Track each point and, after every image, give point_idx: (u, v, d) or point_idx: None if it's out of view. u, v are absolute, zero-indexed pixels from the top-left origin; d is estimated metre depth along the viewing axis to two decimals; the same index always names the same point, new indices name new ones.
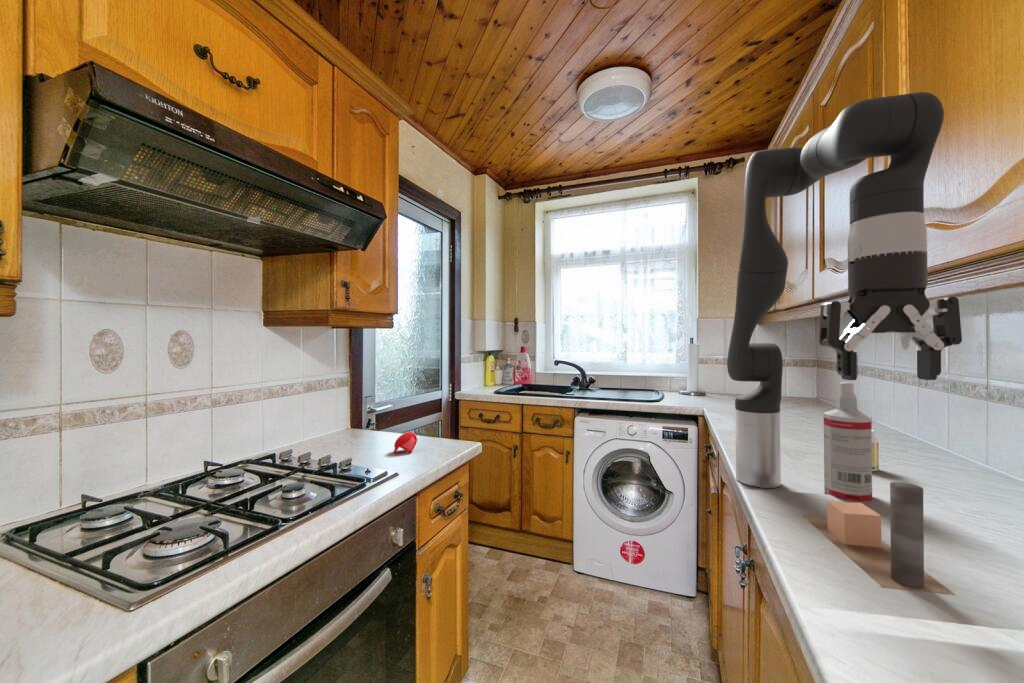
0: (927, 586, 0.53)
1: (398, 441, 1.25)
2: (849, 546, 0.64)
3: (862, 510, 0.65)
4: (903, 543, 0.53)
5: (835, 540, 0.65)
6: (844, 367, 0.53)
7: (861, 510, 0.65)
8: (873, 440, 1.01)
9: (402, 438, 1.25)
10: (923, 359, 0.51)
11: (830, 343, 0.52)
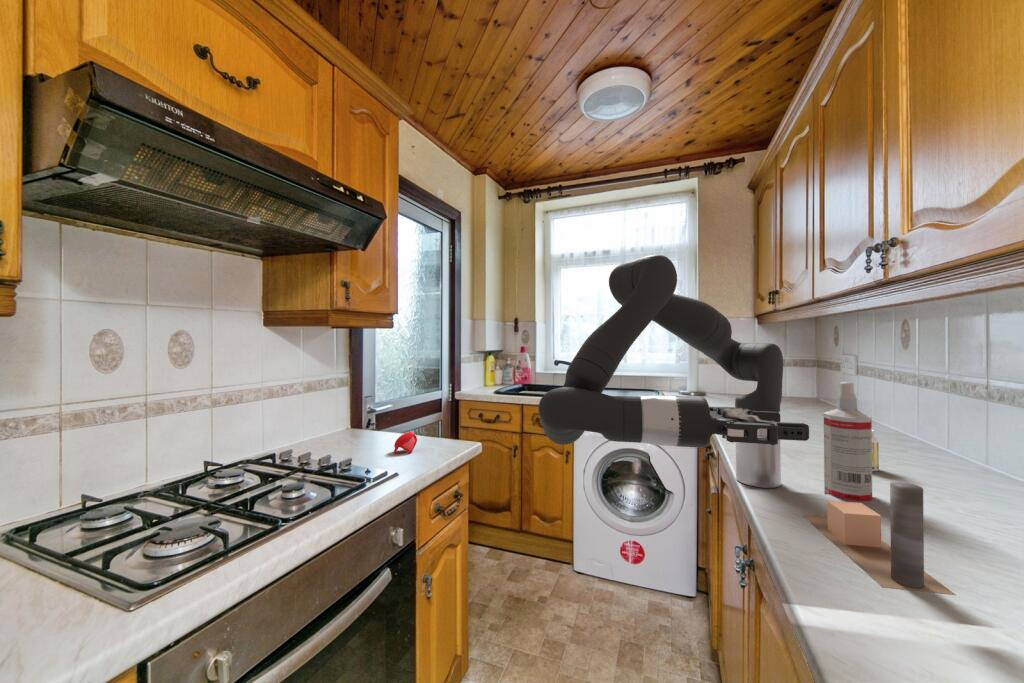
0: (927, 586, 0.53)
1: (398, 441, 1.25)
2: (849, 546, 0.64)
3: (862, 510, 0.65)
4: (903, 543, 0.53)
5: (835, 540, 0.65)
6: None
7: (861, 510, 0.65)
8: (873, 440, 1.01)
9: (402, 438, 1.25)
10: None
11: None
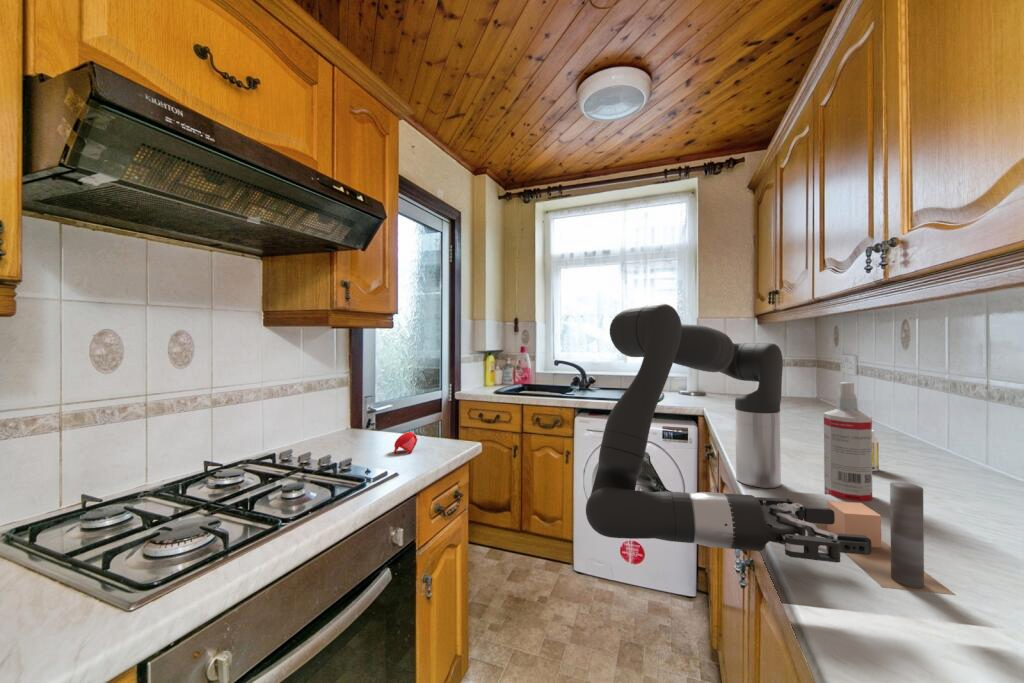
0: (927, 586, 0.53)
1: (398, 441, 1.25)
2: None
3: (862, 510, 0.65)
4: (903, 543, 0.53)
5: None
6: None
7: (861, 510, 0.65)
8: (873, 440, 1.01)
9: (402, 438, 1.25)
10: None
11: None
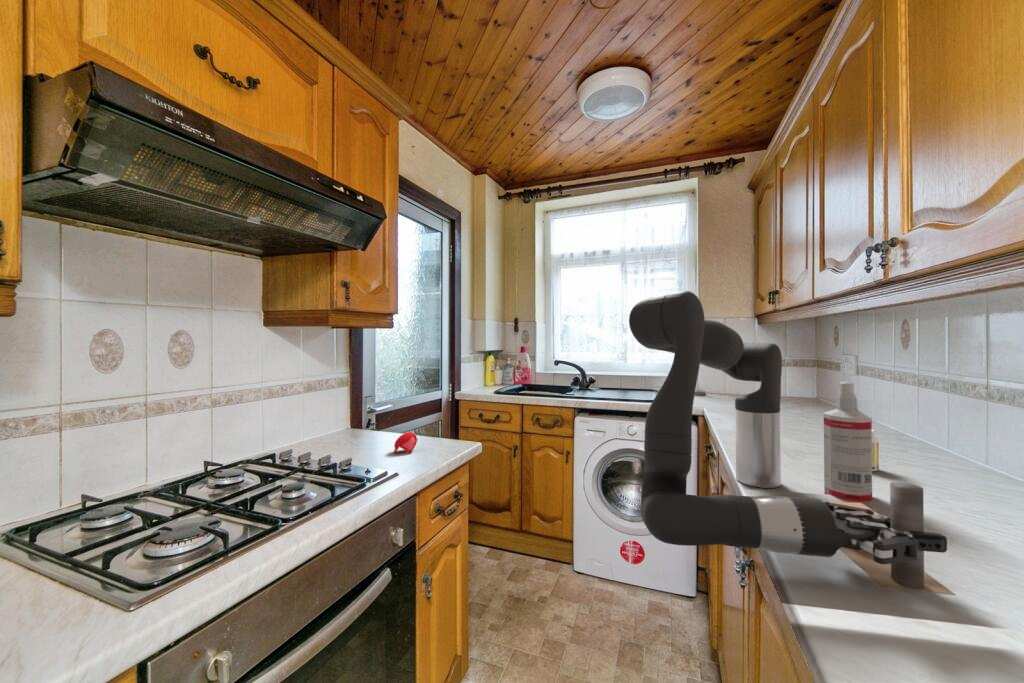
0: (927, 586, 0.53)
1: (398, 441, 1.25)
2: None
3: None
4: None
5: None
6: None
7: None
8: (873, 440, 1.01)
9: (402, 438, 1.25)
10: None
11: None
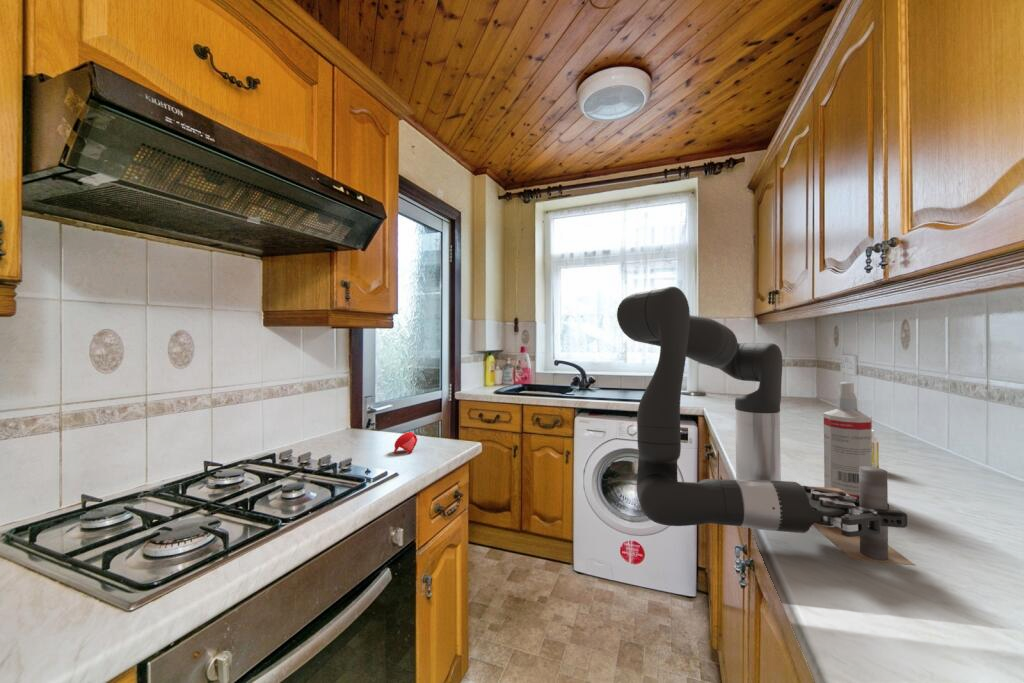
0: (891, 558, 0.60)
1: (398, 441, 1.25)
2: (825, 526, 0.70)
3: None
4: None
5: None
6: None
7: None
8: (873, 440, 1.01)
9: (402, 438, 1.25)
10: None
11: None
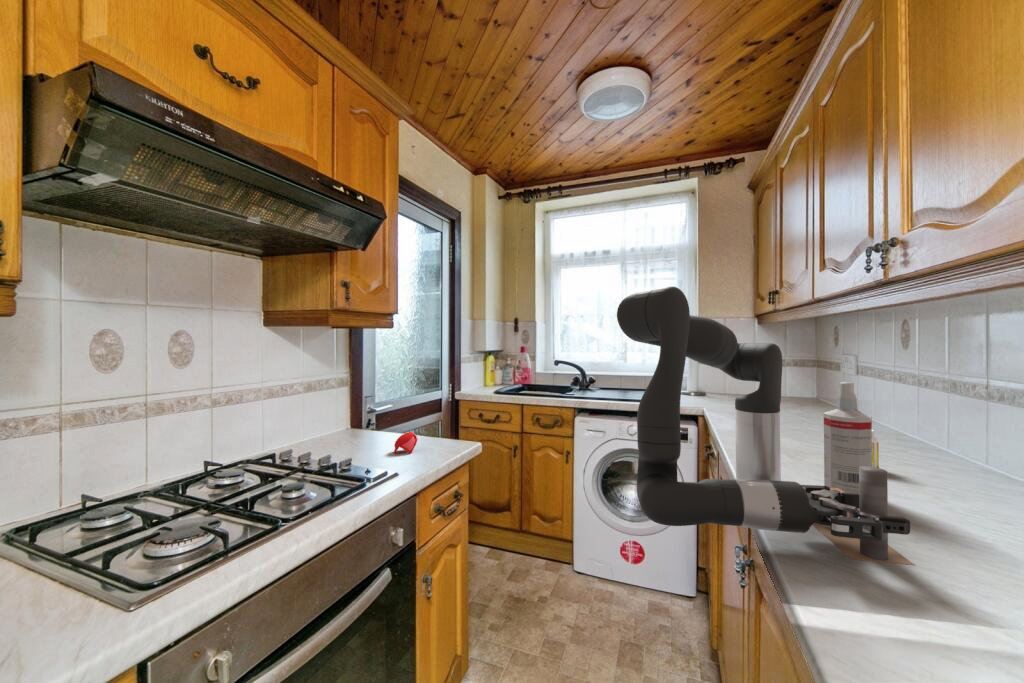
0: (891, 558, 0.60)
1: (398, 441, 1.25)
2: (825, 526, 0.70)
3: None
4: None
5: None
6: None
7: None
8: (873, 440, 1.01)
9: (402, 438, 1.25)
10: None
11: None
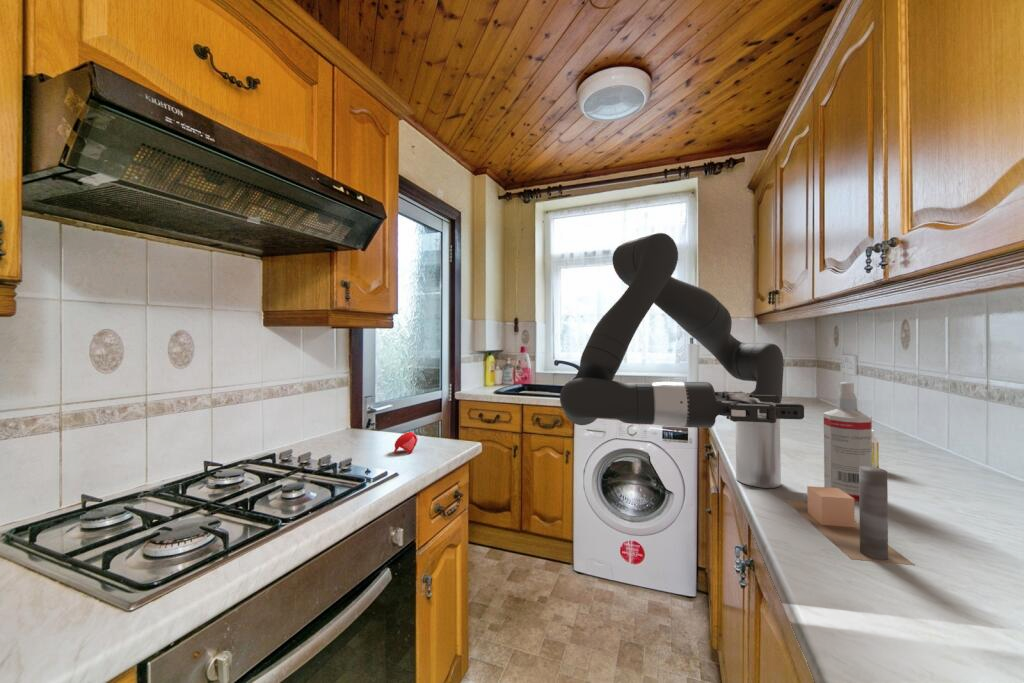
0: (891, 558, 0.60)
1: (398, 441, 1.25)
2: (825, 526, 0.70)
3: (838, 494, 0.72)
4: (870, 520, 0.60)
5: (813, 521, 0.72)
6: None
7: (836, 494, 0.72)
8: (873, 440, 1.01)
9: (402, 438, 1.25)
10: None
11: None
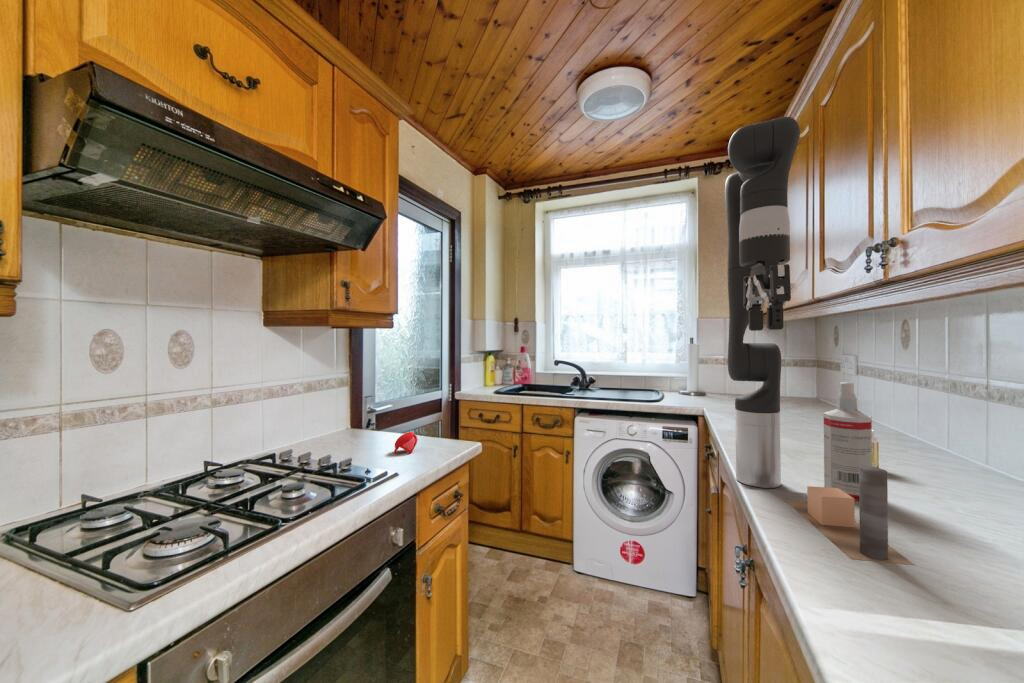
0: (891, 558, 0.60)
1: (398, 441, 1.25)
2: (825, 526, 0.70)
3: (838, 494, 0.72)
4: (870, 520, 0.60)
5: (813, 521, 0.72)
6: None
7: (836, 494, 0.72)
8: (873, 440, 1.01)
9: (402, 438, 1.25)
10: None
11: (743, 305, 0.77)
